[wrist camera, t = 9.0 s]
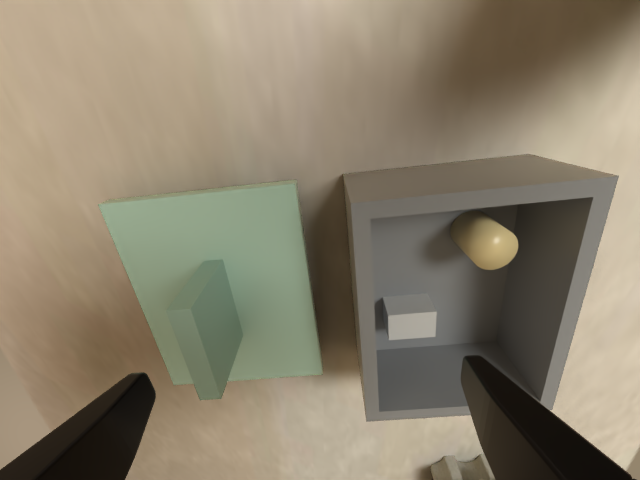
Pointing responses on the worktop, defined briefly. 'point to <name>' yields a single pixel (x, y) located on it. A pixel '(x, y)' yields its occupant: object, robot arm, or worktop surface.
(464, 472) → the egg carton
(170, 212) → the lid
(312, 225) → the worktop surface
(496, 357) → the tub
